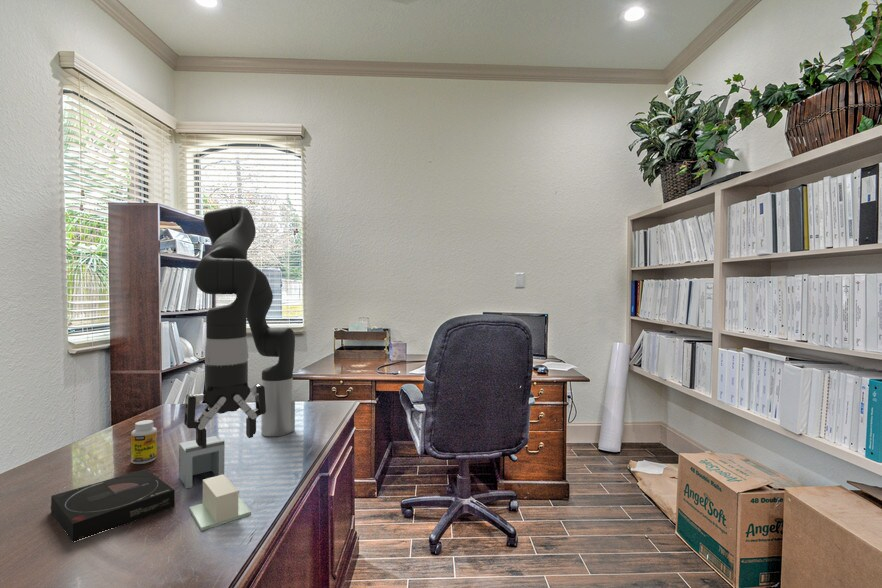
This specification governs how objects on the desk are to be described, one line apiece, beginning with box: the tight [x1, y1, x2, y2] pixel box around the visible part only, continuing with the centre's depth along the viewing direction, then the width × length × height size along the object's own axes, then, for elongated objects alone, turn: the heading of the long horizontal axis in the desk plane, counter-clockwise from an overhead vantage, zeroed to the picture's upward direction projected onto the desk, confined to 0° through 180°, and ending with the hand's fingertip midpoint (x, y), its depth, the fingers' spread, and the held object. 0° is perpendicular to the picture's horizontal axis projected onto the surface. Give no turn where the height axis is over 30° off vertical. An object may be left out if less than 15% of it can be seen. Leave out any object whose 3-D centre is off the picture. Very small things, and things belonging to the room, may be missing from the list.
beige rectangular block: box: [202, 473, 240, 523], centre depth 87 cm, size 4×10×5 cm, turn 43°
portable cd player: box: [50, 468, 176, 542], centre depth 88 cm, size 16×17×4 cm
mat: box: [189, 495, 252, 532], centre depth 87 cm, size 9×10×1 cm
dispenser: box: [178, 435, 226, 489], centre depth 103 cm, size 8×8×9 cm
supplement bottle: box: [130, 419, 158, 465], centre depth 112 cm, size 6×6×10 cm
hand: (227, 441), depth 84 cm, fingers open, 8 cm apart
